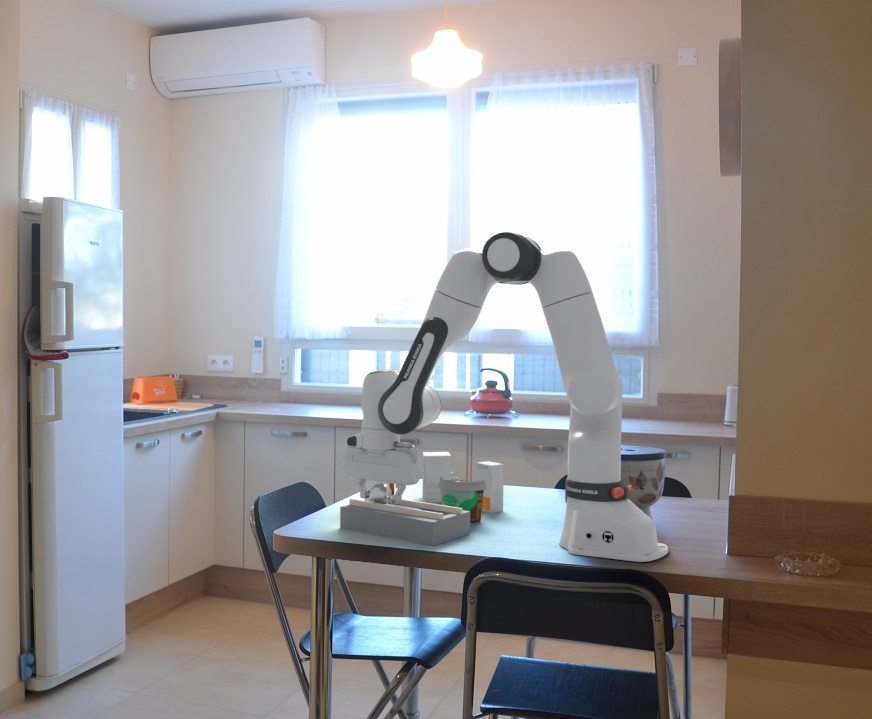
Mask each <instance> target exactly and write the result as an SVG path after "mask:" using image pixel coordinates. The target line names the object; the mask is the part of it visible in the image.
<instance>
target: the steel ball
mask: <svg viewBox="0 0 872 719" xmlns="http://www.w3.org/2000/svg"><path fill="white" fill-rule="evenodd" d="M370 499H371V501H372V502H373V503H379V504H387V503H388V502H389V501H390V499H391V490H390V488H389V487H388V486H387V485H385V484H382V483H379V484H376V485H374V486H373V487H372V488H371V490H370Z"/></svg>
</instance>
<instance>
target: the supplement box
mask: <svg viewBox="0 0 872 719" xmlns="http://www.w3.org/2000/svg"><path fill="white" fill-rule="evenodd" d="M451 472H452V455H451V453H450V452H449V451H423V452H422V500H423V499H424V500H423V502H425V503H441V493H440V488H438V487H437V485H438V480H439V479H440V477H441V476H442V477H443V480H449V481H451V480H452V479H451V475H452V473H451Z"/></svg>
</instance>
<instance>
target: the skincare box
mask: <svg viewBox="0 0 872 719" xmlns="http://www.w3.org/2000/svg"><path fill="white" fill-rule="evenodd" d="M504 466H505V465H504V463H499V462H495V461H489V460H488V461H479V462H476V481H475V482H477V481H483V480H485V483H486V489H485V490H484V493H483V503H482V510H483V511H482V512H486V513H489V514H492V513H499V512H504V472H505V471H504V470H505V468H504Z"/></svg>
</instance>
